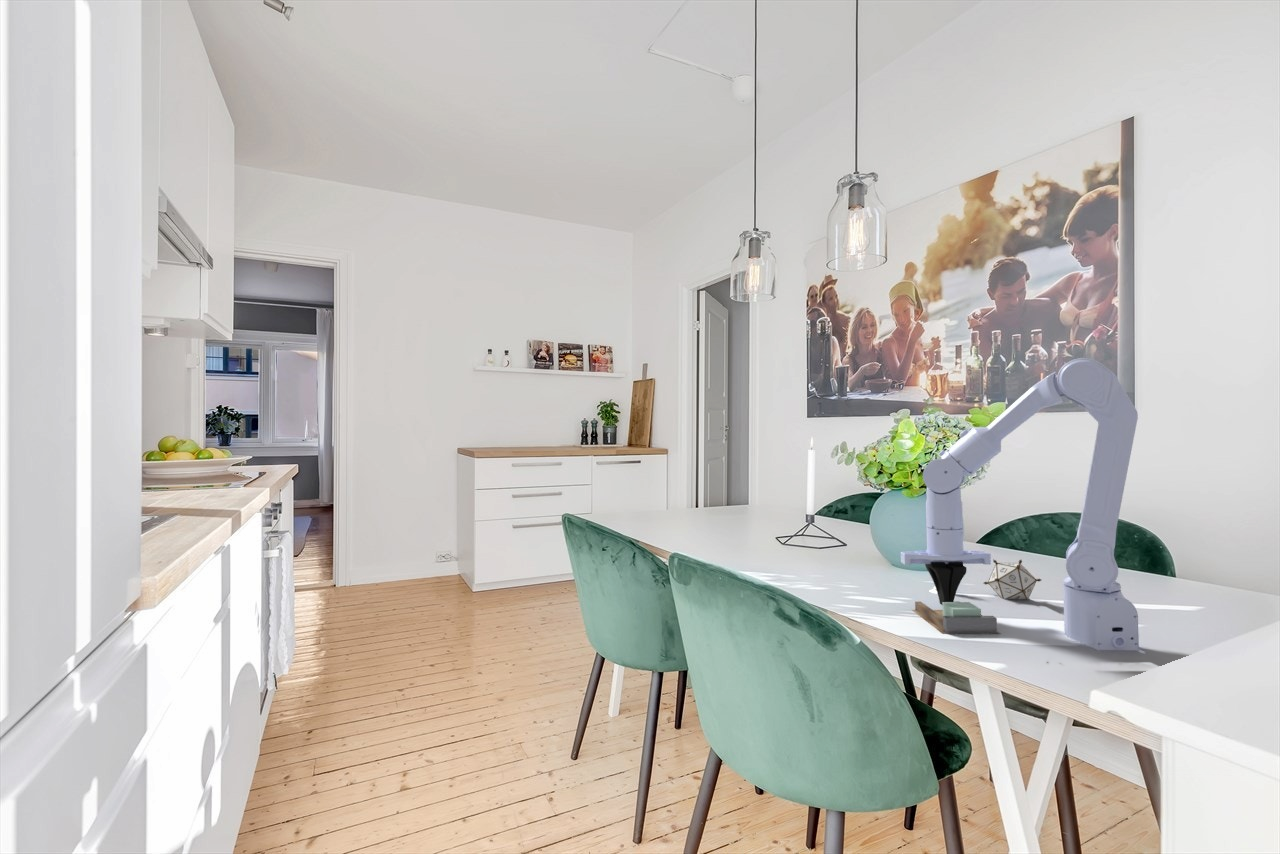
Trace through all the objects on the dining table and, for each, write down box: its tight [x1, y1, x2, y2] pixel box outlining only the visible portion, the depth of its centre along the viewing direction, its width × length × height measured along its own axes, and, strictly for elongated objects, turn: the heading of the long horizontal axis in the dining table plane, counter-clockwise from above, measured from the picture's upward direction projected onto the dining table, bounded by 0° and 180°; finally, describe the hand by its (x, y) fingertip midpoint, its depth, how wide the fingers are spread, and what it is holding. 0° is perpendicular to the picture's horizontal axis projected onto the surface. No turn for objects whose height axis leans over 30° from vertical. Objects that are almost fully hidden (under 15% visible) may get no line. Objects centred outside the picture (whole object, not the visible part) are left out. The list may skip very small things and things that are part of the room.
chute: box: [911, 600, 1001, 635], centre depth 103 cm, size 13×9×4 cm
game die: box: [982, 559, 1042, 600], centre depth 117 cm, size 9×8×10 cm
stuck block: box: [941, 601, 982, 616], centre depth 100 cm, size 4×4×4 cm
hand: (946, 605), depth 106 cm, fingers closed
